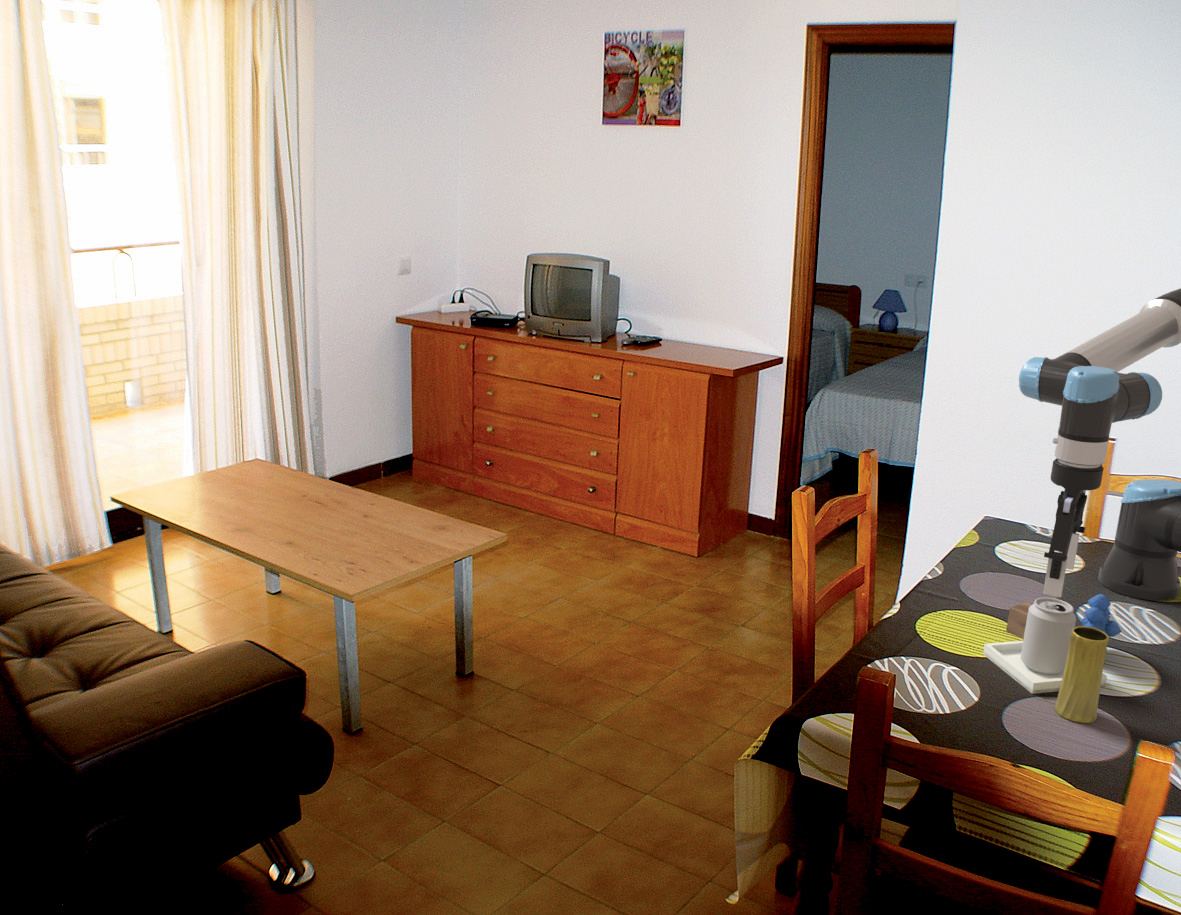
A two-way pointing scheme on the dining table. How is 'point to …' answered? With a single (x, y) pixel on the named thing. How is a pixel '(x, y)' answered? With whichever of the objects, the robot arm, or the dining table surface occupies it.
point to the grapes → (1100, 616)
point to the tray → (1023, 668)
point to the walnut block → (1018, 619)
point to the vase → (1082, 675)
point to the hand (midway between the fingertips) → (1058, 580)
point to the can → (1047, 635)
